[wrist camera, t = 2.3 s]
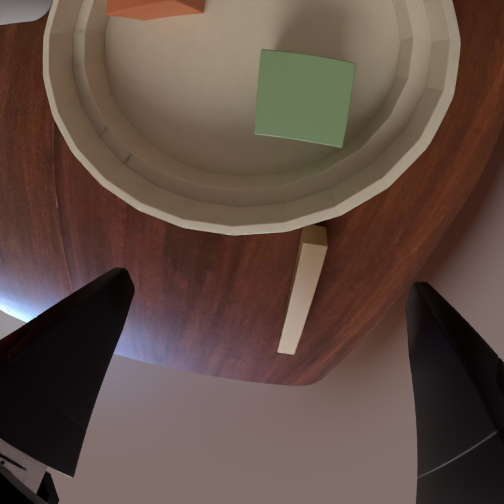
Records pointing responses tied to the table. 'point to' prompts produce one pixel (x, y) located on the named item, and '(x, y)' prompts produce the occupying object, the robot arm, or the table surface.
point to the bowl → (245, 105)
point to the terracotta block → (153, 8)
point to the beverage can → (23, 10)
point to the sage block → (303, 97)
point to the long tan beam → (302, 286)
